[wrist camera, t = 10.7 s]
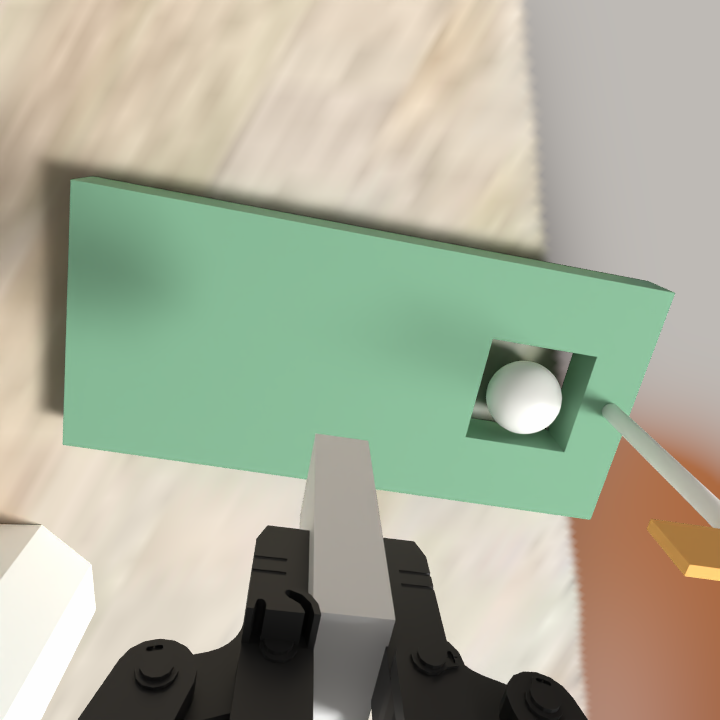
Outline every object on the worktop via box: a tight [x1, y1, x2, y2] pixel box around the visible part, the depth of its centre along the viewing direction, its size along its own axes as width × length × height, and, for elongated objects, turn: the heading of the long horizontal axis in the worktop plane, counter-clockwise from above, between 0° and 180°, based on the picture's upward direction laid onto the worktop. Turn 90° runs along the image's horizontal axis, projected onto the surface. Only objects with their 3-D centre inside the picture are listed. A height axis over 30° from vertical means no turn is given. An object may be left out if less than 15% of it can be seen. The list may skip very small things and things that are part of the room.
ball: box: [486, 361, 562, 434], centre depth 29 cm, size 4×4×4 cm
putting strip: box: [63, 176, 720, 581], centre depth 23 cm, size 12×26×14 cm, turn 79°
